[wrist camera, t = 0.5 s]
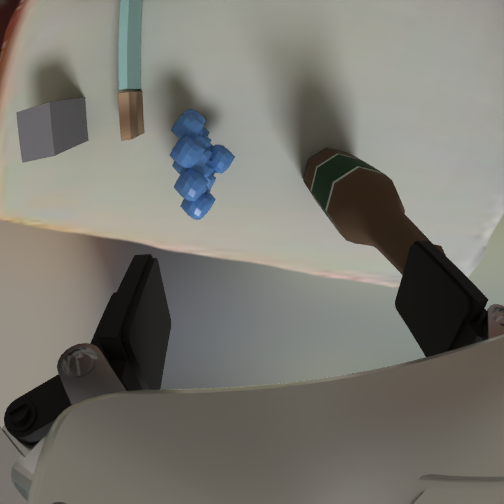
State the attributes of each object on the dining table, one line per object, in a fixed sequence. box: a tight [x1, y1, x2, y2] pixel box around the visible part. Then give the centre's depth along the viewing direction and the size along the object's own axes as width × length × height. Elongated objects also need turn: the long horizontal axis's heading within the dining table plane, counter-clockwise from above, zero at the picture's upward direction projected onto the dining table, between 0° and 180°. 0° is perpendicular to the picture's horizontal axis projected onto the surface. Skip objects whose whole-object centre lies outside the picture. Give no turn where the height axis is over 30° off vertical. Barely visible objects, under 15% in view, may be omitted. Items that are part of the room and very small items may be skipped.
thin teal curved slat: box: [118, 0, 142, 90], centre depth 25 cm, size 13×1×5 cm, turn 179°
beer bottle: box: [303, 148, 446, 275], centre depth 28 cm, size 8×8×24 cm
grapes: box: [170, 109, 234, 220], centre depth 31 cm, size 12×7×12 cm, turn 5°
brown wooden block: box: [118, 92, 144, 141], centre depth 25 cm, size 25×1×6 cm, turn 179°
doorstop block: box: [17, 97, 88, 162], centre depth 28 cm, size 6×5×9 cm
